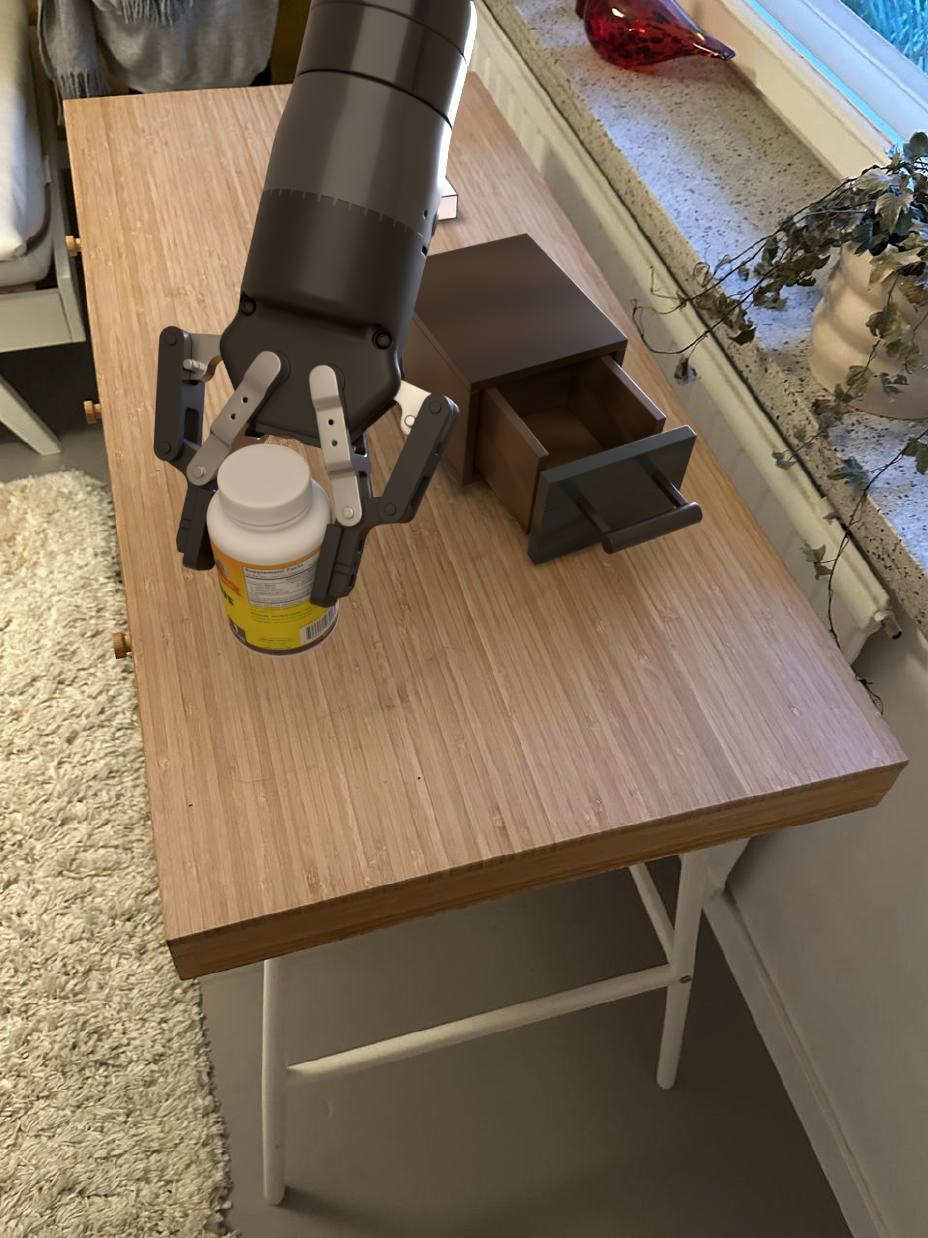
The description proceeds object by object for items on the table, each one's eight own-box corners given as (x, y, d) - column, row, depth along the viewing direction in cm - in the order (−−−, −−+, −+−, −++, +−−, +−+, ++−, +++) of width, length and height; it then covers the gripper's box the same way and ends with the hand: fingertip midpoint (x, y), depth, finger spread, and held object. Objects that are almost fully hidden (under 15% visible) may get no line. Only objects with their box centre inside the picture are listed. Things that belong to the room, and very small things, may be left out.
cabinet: (605, 441, 79) (628, 338, 72) (461, 487, 75) (470, 383, 68) (514, 335, 87) (527, 232, 80) (380, 371, 83) (379, 266, 75)
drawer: (709, 562, 71) (740, 481, 65) (569, 615, 67) (588, 534, 61) (574, 404, 80) (590, 320, 74) (446, 443, 77) (451, 358, 71)
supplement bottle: (234, 578, 53) (205, 427, 45) (341, 578, 53) (332, 429, 45) (222, 665, 50) (189, 519, 42) (337, 665, 50) (326, 520, 42)
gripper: (158, 150, 42) (74, 547, 44) (492, 224, 40) (387, 638, 42) (231, 207, 49) (156, 545, 51) (516, 272, 47) (425, 622, 49)
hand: (260, 585), depth 47 cm, fingers closed on supplement bottle, 5 cm apart
